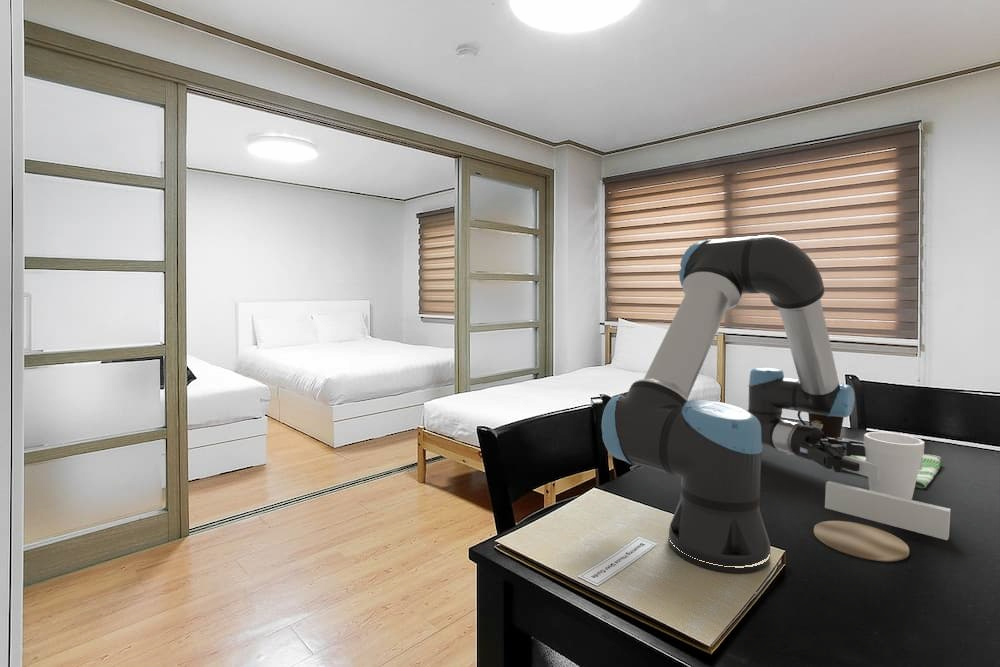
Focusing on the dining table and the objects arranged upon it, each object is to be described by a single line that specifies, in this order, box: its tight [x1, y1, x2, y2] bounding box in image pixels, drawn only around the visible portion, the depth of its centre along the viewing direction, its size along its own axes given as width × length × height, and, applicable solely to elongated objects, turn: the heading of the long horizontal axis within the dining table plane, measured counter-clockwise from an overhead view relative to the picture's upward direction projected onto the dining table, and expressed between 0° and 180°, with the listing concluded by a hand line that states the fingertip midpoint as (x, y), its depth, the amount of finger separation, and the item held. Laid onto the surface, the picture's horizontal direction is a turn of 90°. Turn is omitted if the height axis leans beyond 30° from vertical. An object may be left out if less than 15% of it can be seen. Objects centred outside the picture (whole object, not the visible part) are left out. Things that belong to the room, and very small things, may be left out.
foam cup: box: [863, 431, 925, 500], centre depth 101 cm, size 10×9×13 cm
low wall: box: [824, 480, 952, 541], centre depth 92 cm, size 2×18×5 cm, turn 43°
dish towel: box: [841, 453, 942, 489], centre depth 122 cm, size 18×23×3 cm
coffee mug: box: [797, 411, 845, 439], centre depth 142 cm, size 12×9×10 cm
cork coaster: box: [813, 520, 910, 562], centre depth 85 cm, size 13×13×1 cm
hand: (900, 467), depth 100 cm, fingers open, 13 cm apart
